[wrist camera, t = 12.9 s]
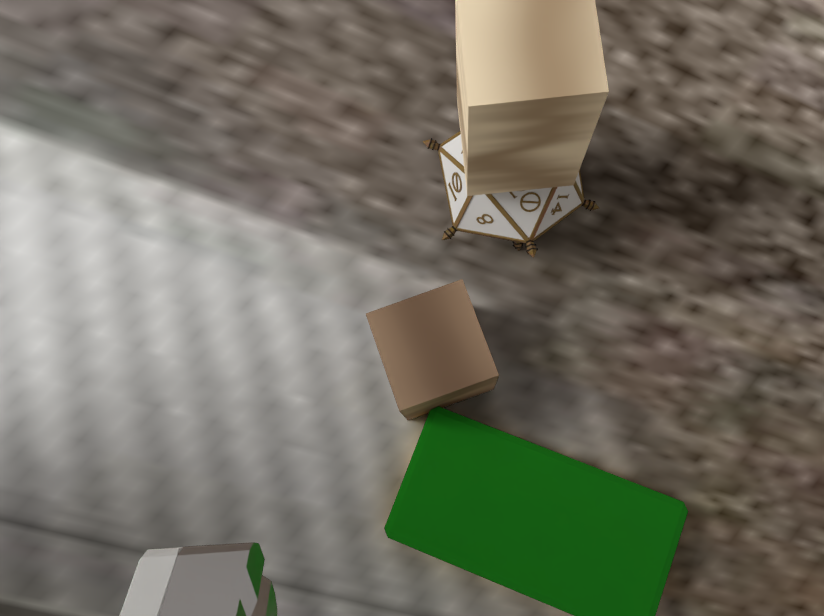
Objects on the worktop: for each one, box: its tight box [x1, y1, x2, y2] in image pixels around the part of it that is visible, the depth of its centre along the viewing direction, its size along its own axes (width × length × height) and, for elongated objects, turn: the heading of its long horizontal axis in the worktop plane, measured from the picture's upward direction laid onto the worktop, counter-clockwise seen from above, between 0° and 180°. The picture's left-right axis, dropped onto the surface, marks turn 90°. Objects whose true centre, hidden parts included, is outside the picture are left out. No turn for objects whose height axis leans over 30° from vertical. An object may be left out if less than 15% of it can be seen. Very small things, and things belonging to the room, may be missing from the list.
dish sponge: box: [384, 406, 688, 616], centre depth 40 cm, size 7×14×2 cm, turn 68°
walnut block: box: [366, 279, 499, 420], centre depth 40 cm, size 5×5×6 cm
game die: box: [423, 131, 599, 258], centre depth 41 cm, size 9×8×10 cm
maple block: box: [455, 0, 609, 196], centre depth 32 cm, size 5×5×9 cm
